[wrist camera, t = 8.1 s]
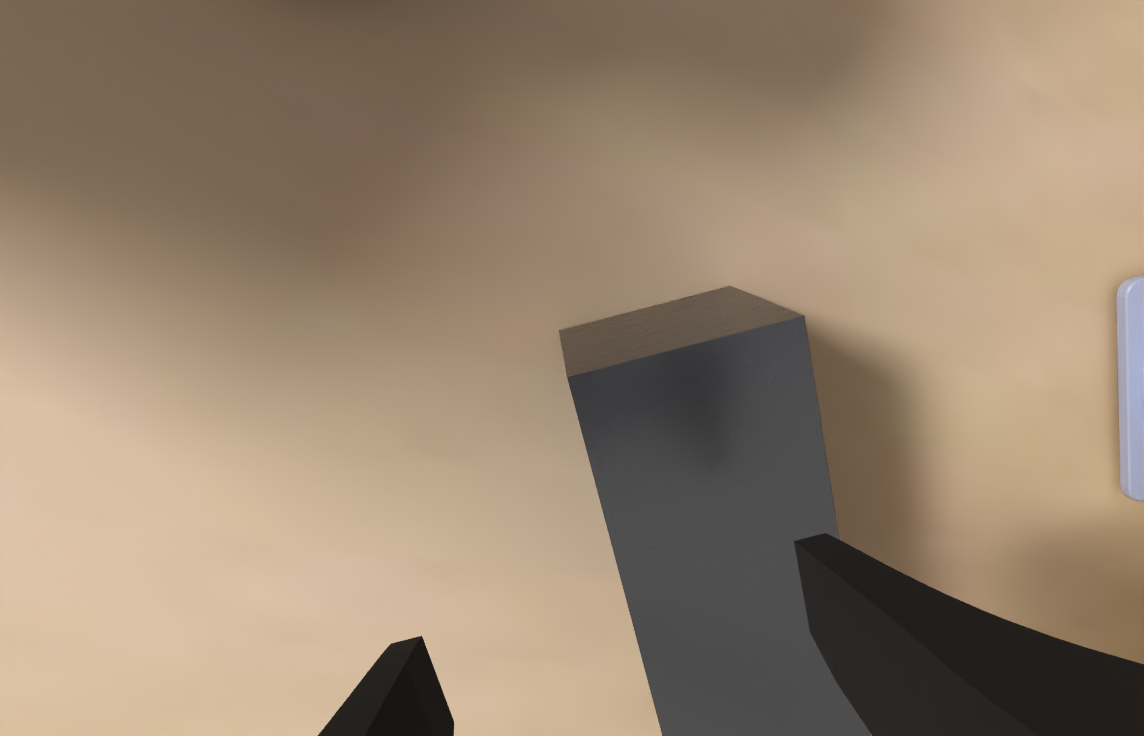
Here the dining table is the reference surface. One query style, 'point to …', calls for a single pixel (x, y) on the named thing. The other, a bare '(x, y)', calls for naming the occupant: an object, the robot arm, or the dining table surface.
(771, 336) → the dark grey rectangular bar
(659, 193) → the dining table surface
